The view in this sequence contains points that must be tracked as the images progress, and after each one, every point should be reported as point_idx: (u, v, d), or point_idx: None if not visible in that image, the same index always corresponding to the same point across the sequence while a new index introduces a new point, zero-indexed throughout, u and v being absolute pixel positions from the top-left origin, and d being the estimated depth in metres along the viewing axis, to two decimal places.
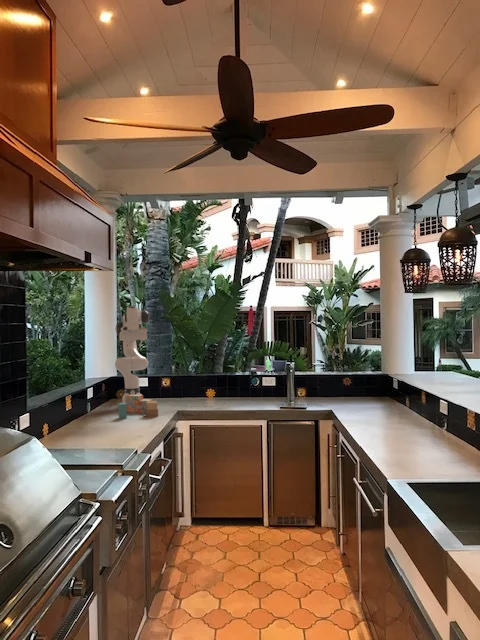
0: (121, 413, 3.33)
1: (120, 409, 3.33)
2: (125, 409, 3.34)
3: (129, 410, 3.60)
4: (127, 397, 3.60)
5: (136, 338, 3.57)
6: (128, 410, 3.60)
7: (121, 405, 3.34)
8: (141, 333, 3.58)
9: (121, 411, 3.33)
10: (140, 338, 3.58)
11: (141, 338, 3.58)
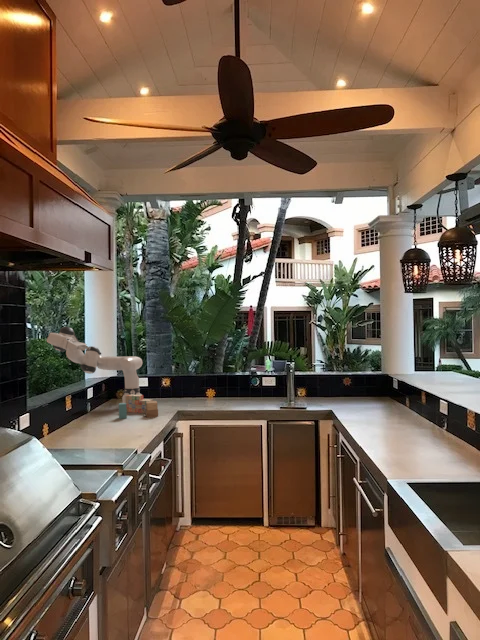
0: (121, 413, 3.33)
1: (120, 409, 3.33)
2: (125, 409, 3.34)
3: (129, 410, 3.59)
4: (127, 397, 3.60)
5: (81, 344, 3.45)
6: (128, 410, 3.60)
7: (121, 405, 3.34)
8: (78, 342, 3.49)
9: (121, 411, 3.33)
10: (83, 344, 3.48)
11: (83, 343, 3.49)
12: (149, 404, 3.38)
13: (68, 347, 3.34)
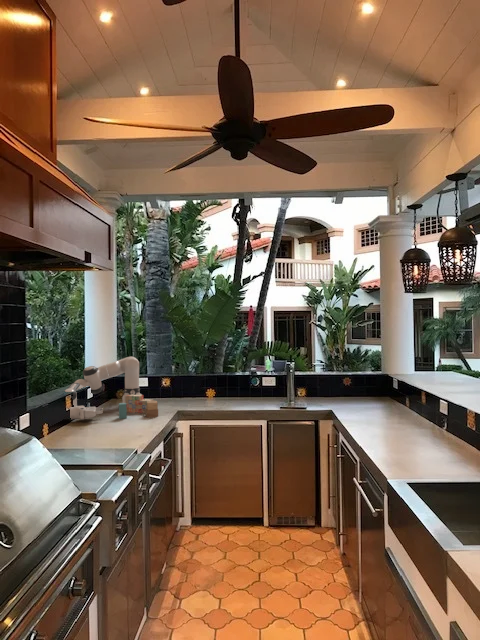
0: (121, 413, 3.33)
1: (120, 409, 3.33)
2: (125, 409, 3.34)
3: (129, 410, 3.58)
4: (127, 397, 3.59)
5: (93, 408, 3.32)
6: (128, 410, 3.59)
7: (121, 405, 3.34)
8: (88, 408, 3.35)
9: (121, 411, 3.33)
10: (94, 407, 3.36)
11: (94, 407, 3.37)
12: (149, 404, 3.38)
13: (87, 416, 3.20)
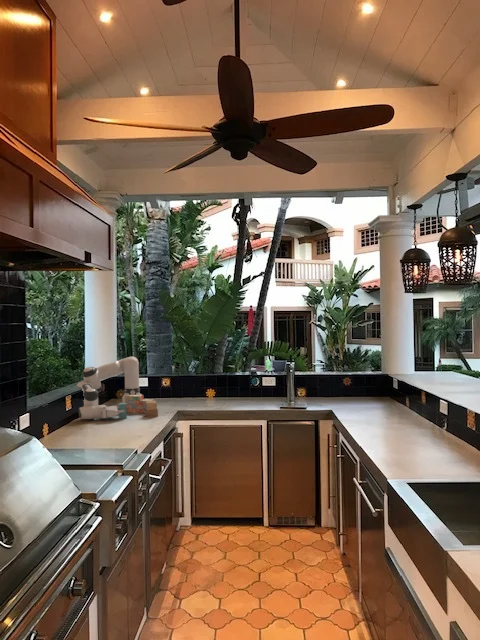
0: (121, 413, 3.33)
1: (120, 409, 3.33)
2: (125, 409, 3.34)
3: (129, 411, 3.57)
4: (127, 398, 3.58)
5: (115, 407, 3.37)
6: (128, 411, 3.58)
7: (121, 405, 3.34)
8: (109, 407, 3.39)
9: None
10: (115, 406, 3.40)
11: (115, 406, 3.41)
12: (148, 404, 3.38)
13: (109, 415, 3.24)
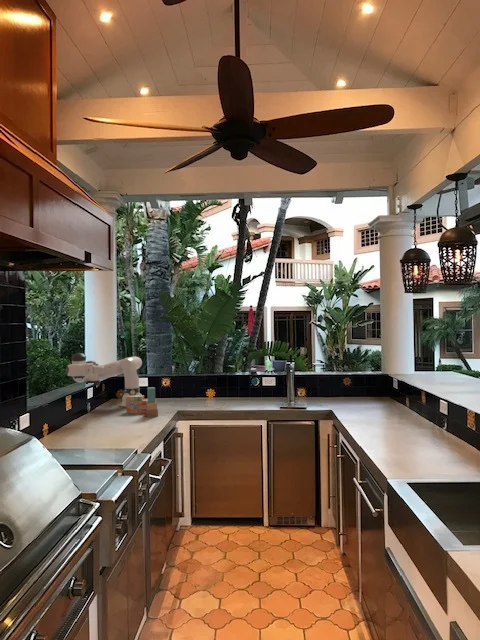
0: (150, 397, 3.39)
1: (149, 393, 3.39)
2: (154, 393, 3.40)
3: (130, 411, 3.54)
4: (128, 398, 3.54)
5: None
6: (129, 411, 3.54)
7: (150, 389, 3.39)
8: (97, 366, 3.47)
9: (149, 395, 3.39)
10: (102, 365, 3.47)
11: (102, 365, 3.48)
12: (148, 404, 3.38)
13: (96, 372, 3.32)
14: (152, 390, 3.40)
